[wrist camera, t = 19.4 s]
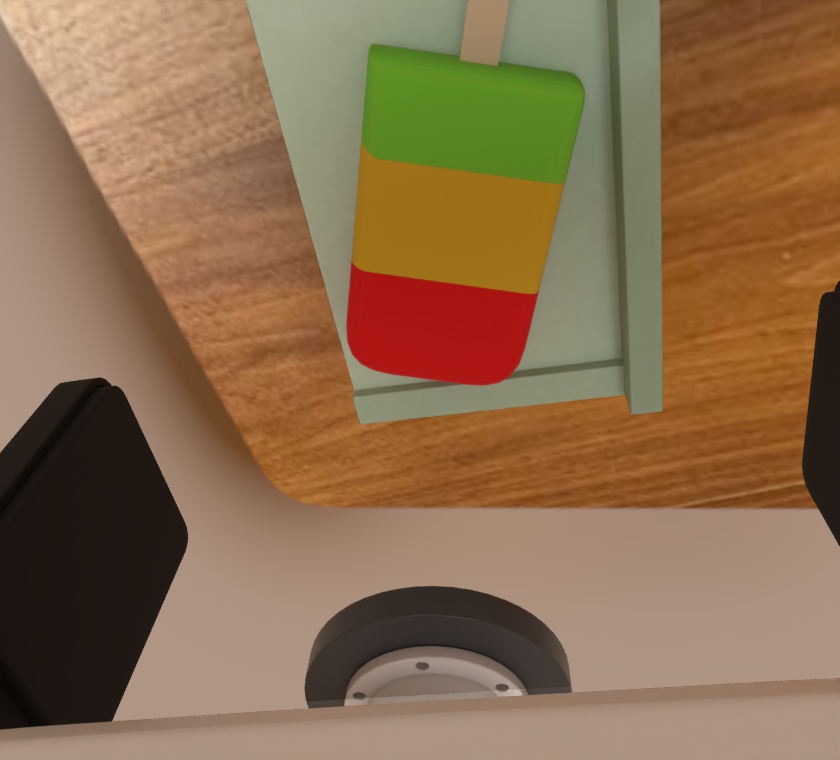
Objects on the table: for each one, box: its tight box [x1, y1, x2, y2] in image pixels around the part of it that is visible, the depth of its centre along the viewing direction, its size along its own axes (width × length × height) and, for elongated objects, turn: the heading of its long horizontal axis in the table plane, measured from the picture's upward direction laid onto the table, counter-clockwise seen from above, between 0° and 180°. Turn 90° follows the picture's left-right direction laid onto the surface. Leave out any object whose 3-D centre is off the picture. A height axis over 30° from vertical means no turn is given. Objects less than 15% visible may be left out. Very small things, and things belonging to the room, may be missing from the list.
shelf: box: [245, 0, 663, 424], centre depth 23 cm, size 19×10×8 cm, turn 10°
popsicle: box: [346, 0, 585, 386], centre depth 20 cm, size 6×15×2 cm, turn 173°
